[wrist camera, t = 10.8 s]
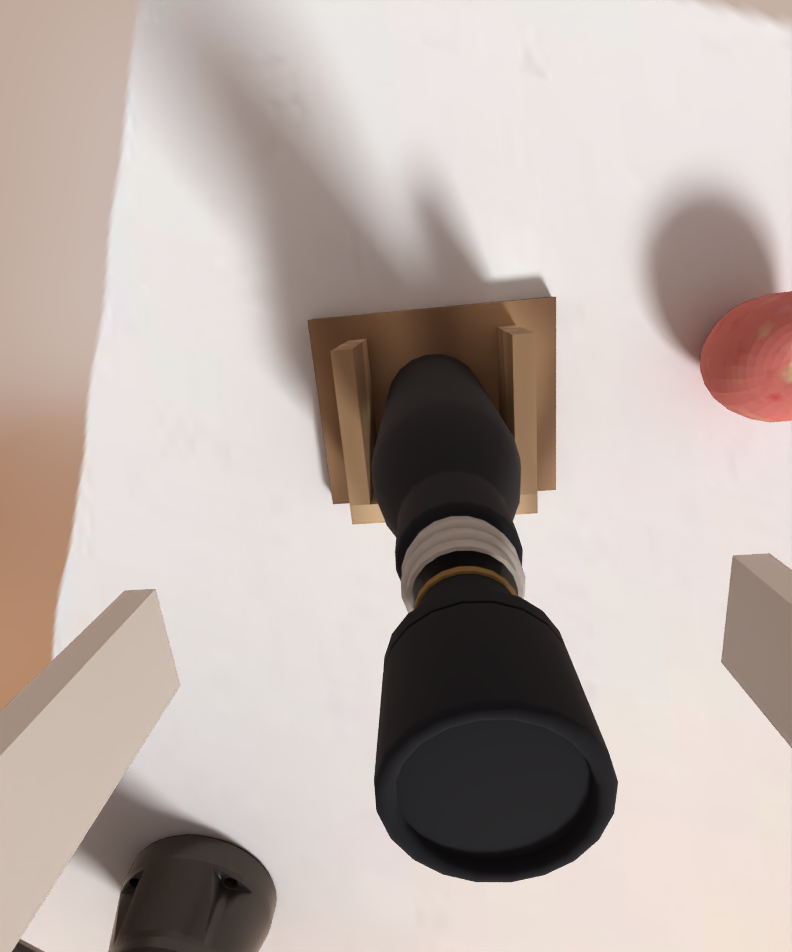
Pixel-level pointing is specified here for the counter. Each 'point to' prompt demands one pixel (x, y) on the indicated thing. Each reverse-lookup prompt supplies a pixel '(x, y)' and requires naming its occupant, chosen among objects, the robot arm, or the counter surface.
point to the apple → (752, 359)
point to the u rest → (424, 333)
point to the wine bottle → (474, 653)
